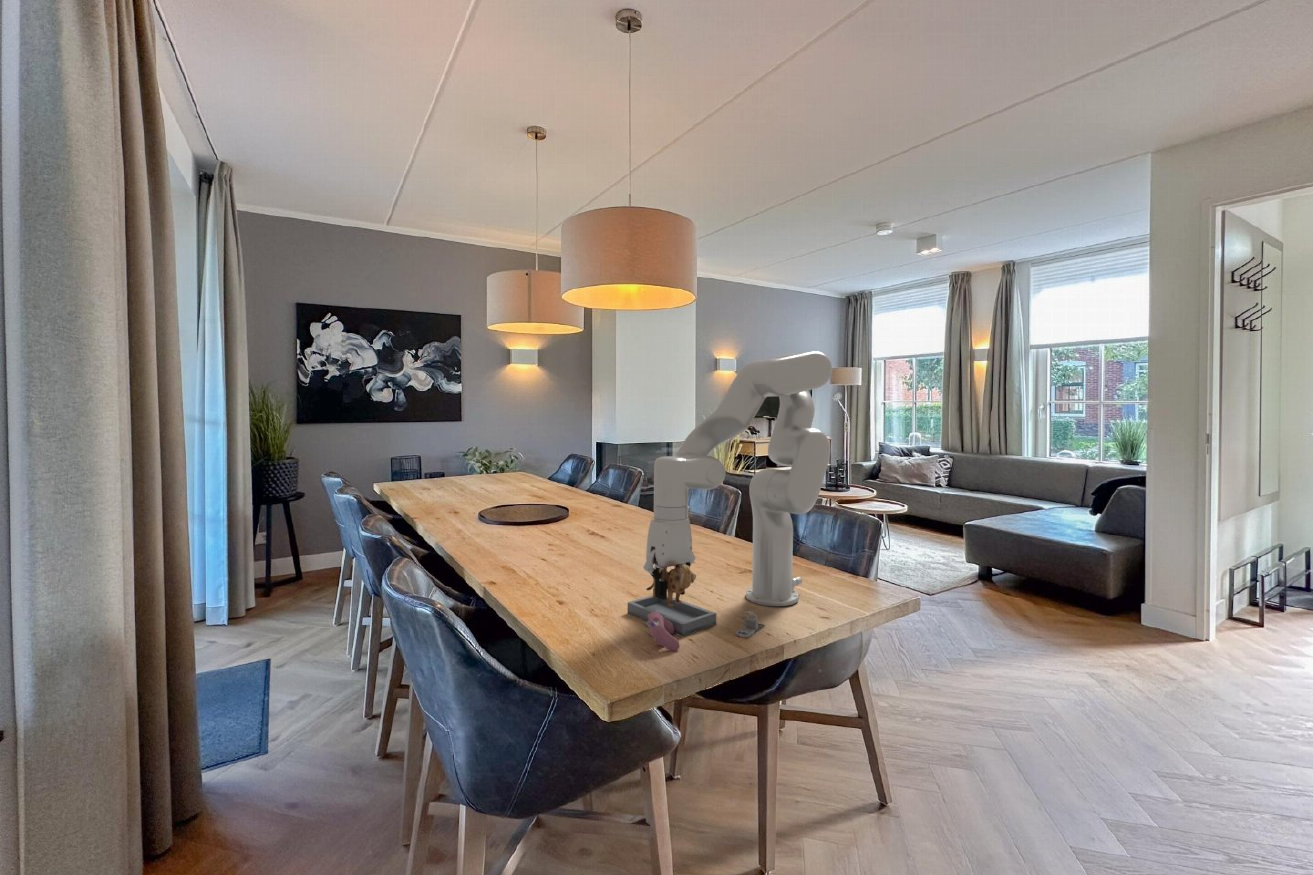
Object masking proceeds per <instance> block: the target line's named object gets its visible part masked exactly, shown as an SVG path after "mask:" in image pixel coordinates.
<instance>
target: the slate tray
mask: <svg viewBox="0 0 1313 875" xmlns="http://www.w3.org/2000/svg"><path fill="white" fill-rule="evenodd" d="M652 596H653V594H651V595H649V596H644V597H642V598H639V599H635V600H630V601H627V614H628V615H631V616H634V617H636V618H638V619H641V620H642V621H645V622H646V623H647V622H648V617H647V615H648V614H649V613H651V612H656V610H657V612H659V613H660V614H661V615H662V616H663V617H664V618H665V619H666V620H668V621H669V622H671V623H672V624H673V626H674V628H675V631H674V633H673V634H676V635H678V636H681V637H685V636H687V635H690V634H694V633H697V632H699V631H702V630H705V629H708V628H711V627H714V626H716V625H717V612H714V611H711V610H708V609H706V608H703V607H701V606H697V605H694V604H692V603H688V602H687V601H685V600H684V601H683V600H681V599H679V600H680V601H682V603H681V604H677V603H676V602H675V597H672V600H673V604H674V606H673V607H670V606H668V595H667V598H666V599H665V600H663V599H660V598H658V597H657V598H655V599H654V598H652Z"/></svg>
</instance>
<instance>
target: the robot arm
mask: <svg viewBox="0 0 1313 875" xmlns="http://www.w3.org/2000/svg"><path fill="white" fill-rule="evenodd" d="M832 373H833V365H832V362H831V360H830V358H829V357H828V356H827V355H826V353H823V352H820V351H815V350H814V351H807V352H806V351H805V352H795V353H787V354H782V355H779V356H777V357H775V358H771V359H769V358H768V359H760V360H754V361H749V362H747V363H745V364H743V366H742V367H741V368H740V369H739V371H738V372H737V374H736V376H735V378H734V379H733V381H732V382H731V383H730V386H729V387H728V389H727V391H726V393H725V394H724V395H723V396H722V397H723V398H722V399H721V401H720V403H719V404H718V406H717V408H715V410H714V411H713V412H712V413H711V414H710V415H708V416H707V417H706V418H705V419H704V420H702V421H701V423H699V425H697V426H696V427H695V428H694V429H693V430H691V432H690V433H689V434H688V435H687V437H686V438H685V439H684V441H683V442H682V444H681V446H680V447H679V449H678V450H677V452H676V454H675V456H672V455H671V456H670V455H669V456H668V455H667V456H660V457H657V458H656V459H655V461H654V466H653V519H650V522H649V526H648V532H647V541H646V549H645V550H646V553H645V554H646V555H645V556H646V557H645V558H646V561H645V563H644V565H643V570H644V571H646V572H647V573H649V575H650V576H651V577H652V579H655V596H656V597H658V598H660V599H663V600H665V599H666V598H667V596H668V591H667V581H664V580H665V576H666V571H668V568H669V567H674V568H676V567H678V566H682V565H687V566H689V567H690V568H691V565H692V564H693V563H694V562H695V560H696V556H695V554H694V552H693V537H692V536H693V534H692V526H691V521H690V518H689V512H690V510H691V507H690V506H689V490H690V489H691V490H693V489H695V490H702V491H703V490H704V491H705V490H706V491H708V490H709V491H710V490H714V489H717V488H719V486H721V484H723V482H724V481H725V478H726V474H727V472H726V467H725V466H724V464H723V462H722V461H721V460H719V459H718V458H716V457H714V456H711V455H710V454H711V453H712V452H713V450H714V449H715V448H717V447H718V446H719V445H721V444H722V443H724V442H726V441H727V440H730V439H732V438H735V437H737V436H739V435H741V434H742V433H744V432H745V431H747V430H748V429H749V427H750V425H751V424H752V422H753V420H754V418H755V416H756V414H757V413H758V412H759V410H760V409H761V407H762V405H763V403H764V401H765V399H766V398H767V397H778V398H779V408H778V414H777V416H776V419H775V423H774V426H773V429H772V433H771V435H770V439H769V442H768V445H767V455H768V458H769V460H771V462H773V463H775V464H776V465H780V466H784V467H789V468H790V467H791V468H790V471H789V470H786V469H785V470H784V469H778V468H765V469H761V470H759V471H757V473H755V474H754V475H753V476H752V477H751V480H750V481H749V485H748V486H749V488H748V490H749V499H750V504H751V512H752V587H751V588H749V589H747V590H746V592H745V597H746V599H747V600H748V601H749V602H752V603H754V604H756V605H762V606H768V607H787V606H792V605H794V604H796V603H797V602H799V600H800V598H799V597H800V596H799V594H798V593H797V591H795V590H794V588H795V587H797V586H799V585H800V586H801V584H802V583H803V580H802V578H801V577H800V576H796V577H793V558H794V556H793V550H794V549H793V548H794V542H793V541H794V525H793V520H792V517H791V514H794V515H803V514H807V513H808V512H809V511H811V510H812V509H813V507H814V506H815V504H816V502H817V500H818V498H819V495H820V492H821V488H822V486H823V482H824V479H825V475H826V472H827V469H828V465H829V461H830V458H831V444H830V441H829V438H828V436H827V435H826V434H825V432H823V431H822V430H819V429H817V428H815V427H814V428H813V427H812V425H813V421H814V418H815V409H816V408H815V403H814V400H813V397H812V396H811V393H810V391H811V390H815V389H818V388H821V387H824V385H826V384H827V383H828V381H829V380H830V379H831V376H832ZM674 568H673V569H674ZM660 569H661V572H660V573H659V570H660ZM685 594H686V589H685V590H684V592H682V593H681V594H680V596H683V595H685Z"/></svg>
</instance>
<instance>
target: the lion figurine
mask: <svg viewBox="0 0 1313 875" xmlns="http://www.w3.org/2000/svg"><path fill="white" fill-rule="evenodd" d="M690 568H691V566H690V567H689V566H687V565H682V566H678V567H676V568H671V569H669V570H667V571H666V576H665V580H664V581H667V596H668V606H670V607H673V606H674V604H673V600H672V597H673V594H675V597H673V598H675V602H676V603H677V604H681V603H682V601H683V600H681V599H680V596H681V593H682V592H684V590H685V591H686V589H688V588H689V587H690V586H691V585H692V584H694V583H695V581H696V578H697V575H696V574H695V573H694V572H693V571H692V570H691V569H690ZM660 572H661V569H660V570H659V573H660ZM652 579H653V578H652ZM646 590H647V591H651V590H652V595H653V596H652V595H651V596H652V598H654V599H655V598H657V597H656V596H655V579H653V582H652V584H651V585H650V586H649V587H647V588H646ZM680 600H681V601H680Z"/></svg>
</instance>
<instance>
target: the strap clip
mask: <svg viewBox="0 0 1313 875" xmlns="http://www.w3.org/2000/svg"><path fill="white" fill-rule="evenodd" d="M747 615H750V616H754V618H752V617H748V616H747ZM758 619H759V618H758V615H757V613H755V612H753V611H749V610H748V611H745V612H744V614H743V621H744V623H743V624H744V627H741V628H740V629H738V630H737V631H736V633H735V636H736V635H737V636H736V637H738V636H740V637H739V638H742V637H745V638H744V639H749V637H750V636H751V637H753V636H754V635H755V634H756V632H759V631H761V630H762V628H763V629H764V628H765V627H764V626H765V624H763V623H759V621H758ZM760 625H763V626H760ZM754 633H755V634H754ZM753 634H754V635H753ZM752 635H753V636H752ZM751 637H750V638H751Z"/></svg>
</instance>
